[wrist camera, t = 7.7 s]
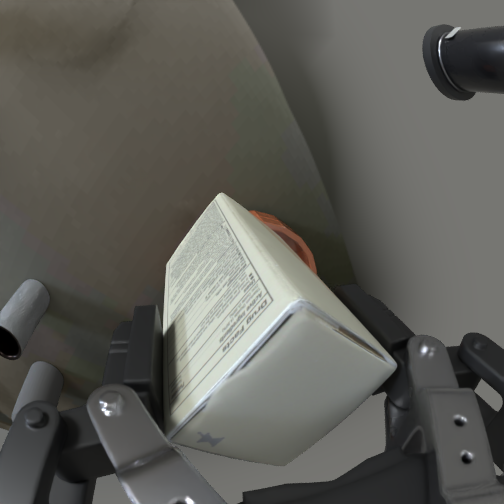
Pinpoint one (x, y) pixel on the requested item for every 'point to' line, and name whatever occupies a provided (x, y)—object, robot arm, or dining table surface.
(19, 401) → the bottle
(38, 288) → the grey tube
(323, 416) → the box
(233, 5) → the dining table surface
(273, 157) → the dining table surface
